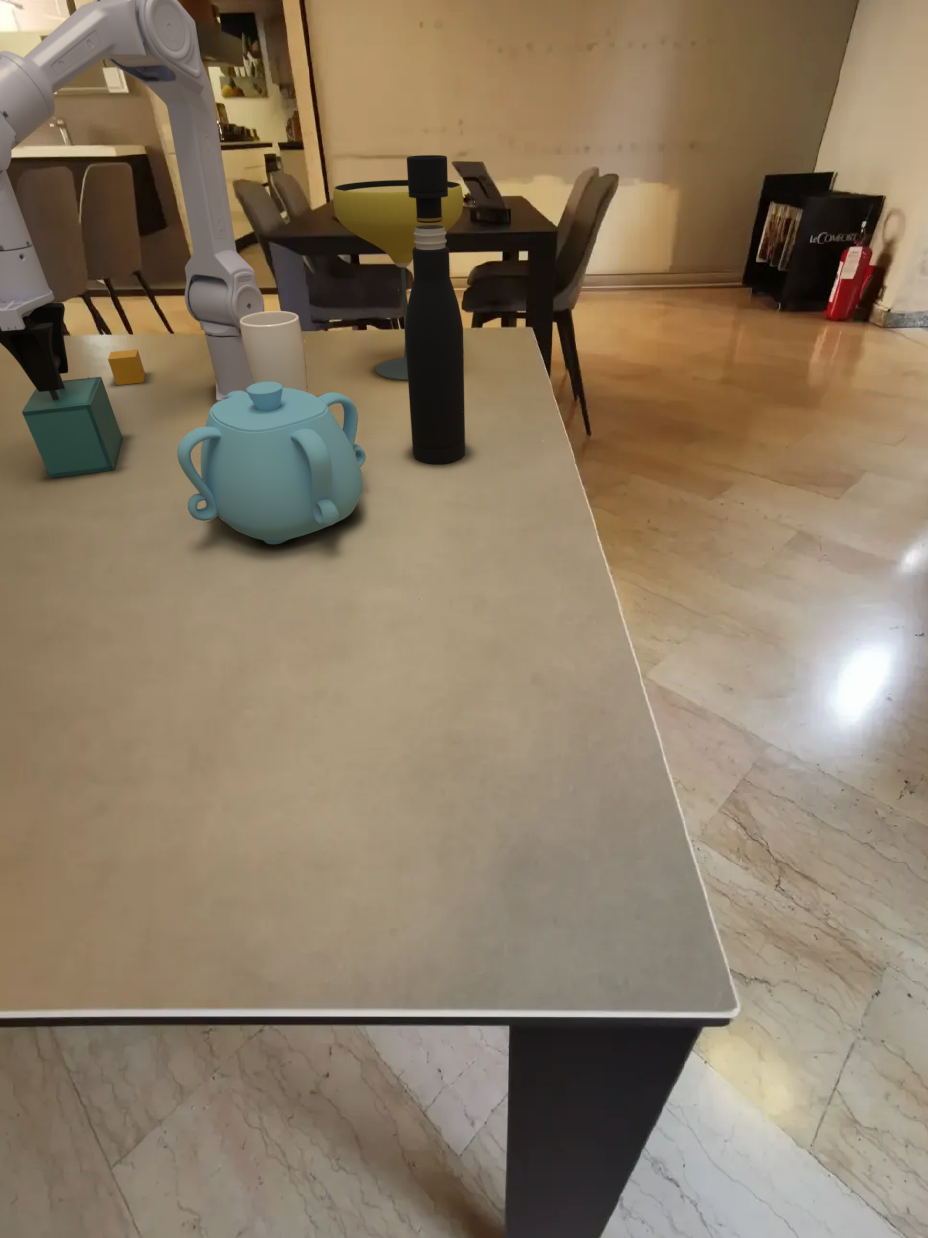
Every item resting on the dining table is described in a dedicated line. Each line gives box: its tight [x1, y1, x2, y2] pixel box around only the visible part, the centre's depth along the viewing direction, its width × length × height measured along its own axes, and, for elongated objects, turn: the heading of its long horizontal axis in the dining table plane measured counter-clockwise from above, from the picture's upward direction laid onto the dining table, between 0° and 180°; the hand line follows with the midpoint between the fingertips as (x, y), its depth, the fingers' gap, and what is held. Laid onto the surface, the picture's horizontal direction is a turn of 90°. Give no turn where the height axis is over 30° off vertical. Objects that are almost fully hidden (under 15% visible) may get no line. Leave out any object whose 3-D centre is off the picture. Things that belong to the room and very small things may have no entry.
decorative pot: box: [176, 382, 366, 545], centre depth 66 cm, size 16×16×14 cm
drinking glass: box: [240, 310, 309, 393], centre depth 80 cm, size 7×7×15 cm
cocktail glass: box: [332, 179, 464, 381], centre depth 100 cm, size 18×18×25 cm
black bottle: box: [404, 154, 466, 465], centre depth 73 cm, size 6×6×30 cm
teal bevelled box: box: [21, 354, 123, 479], centre depth 79 cm, size 12×10×7 cm
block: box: [107, 348, 146, 386], centre depth 105 cm, size 4×4×4 cm
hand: (54, 381), depth 77 cm, fingers closed on teal bevelled box, 5 cm apart
